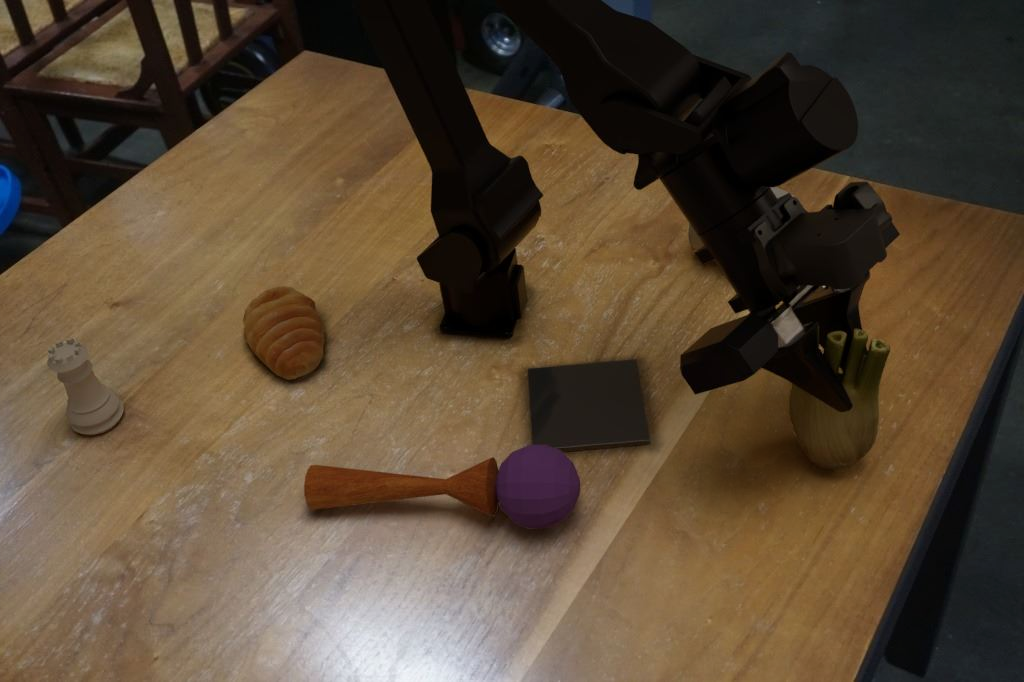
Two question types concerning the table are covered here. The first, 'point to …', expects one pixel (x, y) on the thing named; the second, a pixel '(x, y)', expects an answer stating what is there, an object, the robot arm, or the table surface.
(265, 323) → the pastry
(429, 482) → the kendama
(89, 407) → the rook chess piece
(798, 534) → the table surface
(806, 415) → the fennel bulb
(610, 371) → the slate coaster
